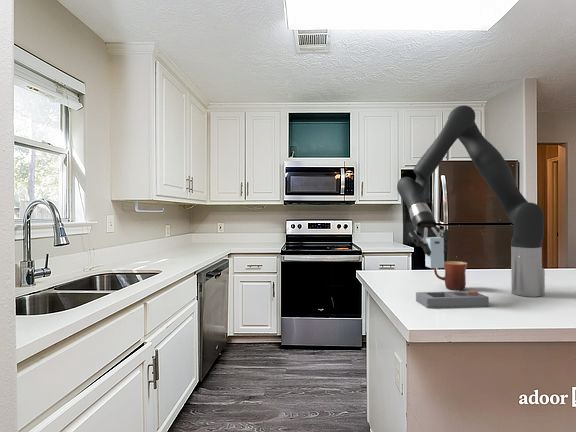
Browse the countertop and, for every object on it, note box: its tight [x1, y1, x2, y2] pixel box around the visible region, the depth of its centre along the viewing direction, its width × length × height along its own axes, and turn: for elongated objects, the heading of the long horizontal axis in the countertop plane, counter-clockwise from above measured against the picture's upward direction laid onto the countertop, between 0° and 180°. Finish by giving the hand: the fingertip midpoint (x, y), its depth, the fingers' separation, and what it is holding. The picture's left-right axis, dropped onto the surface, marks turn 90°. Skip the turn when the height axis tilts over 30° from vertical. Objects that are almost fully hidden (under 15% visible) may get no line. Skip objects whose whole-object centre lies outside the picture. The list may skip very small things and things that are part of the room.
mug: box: [433, 260, 468, 291], centre depth 141 cm, size 12×9×10 cm
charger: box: [424, 236, 445, 269], centre depth 122 cm, size 4×5×10 cm
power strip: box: [415, 290, 490, 309], centre depth 119 cm, size 20×9×4 cm, turn 92°
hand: (436, 253), depth 120 cm, fingers closed on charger, 4 cm apart
